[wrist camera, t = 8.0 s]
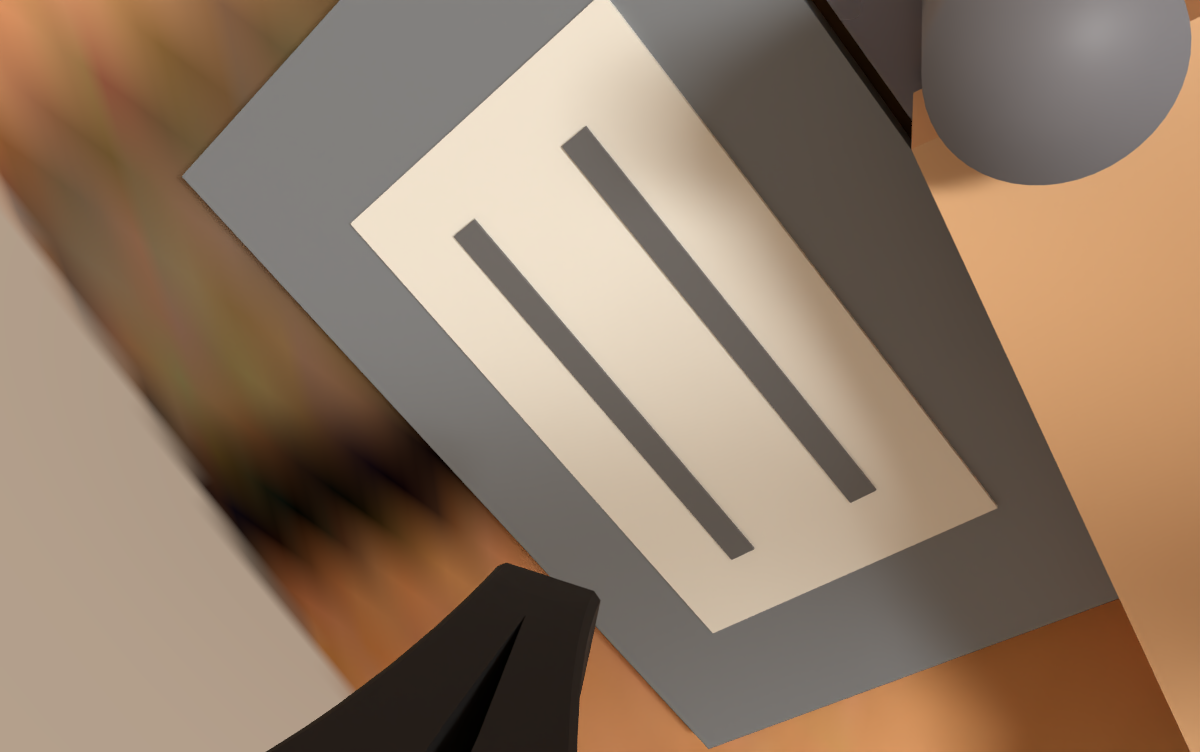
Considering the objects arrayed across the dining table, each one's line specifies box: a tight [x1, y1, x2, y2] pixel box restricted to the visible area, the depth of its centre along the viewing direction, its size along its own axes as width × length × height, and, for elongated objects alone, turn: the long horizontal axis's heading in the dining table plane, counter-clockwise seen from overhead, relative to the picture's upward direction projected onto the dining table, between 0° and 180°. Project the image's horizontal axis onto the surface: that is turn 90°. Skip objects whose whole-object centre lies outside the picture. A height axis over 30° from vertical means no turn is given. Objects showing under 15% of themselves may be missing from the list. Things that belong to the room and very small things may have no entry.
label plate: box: [182, 0, 1119, 749], centre depth 20 cm, size 18×12×1 cm, turn 41°
